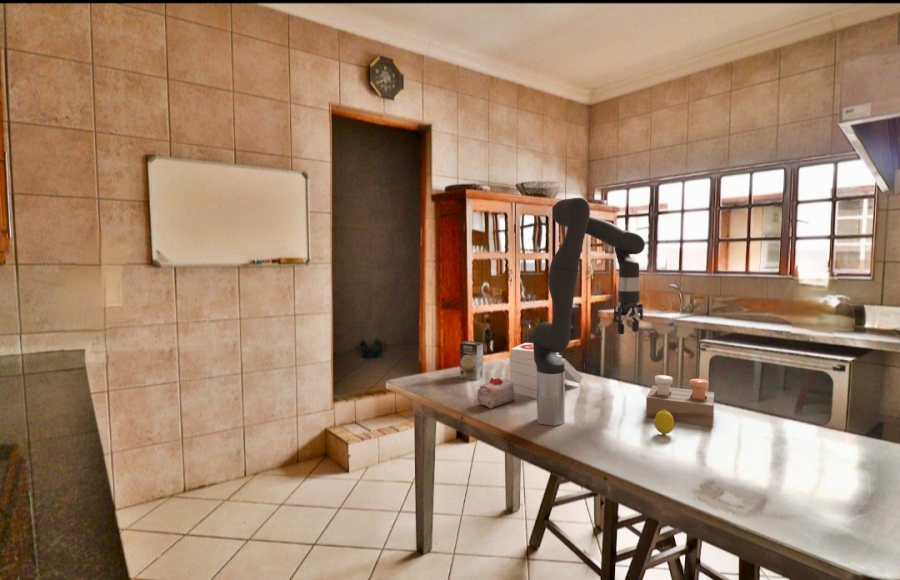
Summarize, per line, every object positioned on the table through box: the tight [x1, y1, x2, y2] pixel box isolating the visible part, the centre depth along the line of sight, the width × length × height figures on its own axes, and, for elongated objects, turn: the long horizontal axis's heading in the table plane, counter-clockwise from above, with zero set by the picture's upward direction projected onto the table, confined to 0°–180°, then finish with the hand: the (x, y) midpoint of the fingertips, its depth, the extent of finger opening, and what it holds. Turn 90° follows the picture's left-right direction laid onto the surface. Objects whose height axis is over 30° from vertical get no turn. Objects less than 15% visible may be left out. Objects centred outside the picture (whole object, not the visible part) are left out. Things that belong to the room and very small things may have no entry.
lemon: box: [654, 410, 675, 436], centre depth 154 cm, size 6×6×8 cm
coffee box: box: [459, 340, 484, 381], centre depth 225 cm, size 9×6×16 cm
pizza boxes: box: [508, 342, 583, 400], centre depth 206 cm, size 19×30×18 cm, turn 127°
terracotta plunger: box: [689, 378, 709, 400], centre depth 168 cm, size 6×6×8 cm
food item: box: [476, 377, 515, 409], centre depth 187 cm, size 14×8×10 cm, turn 130°
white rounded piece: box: [654, 374, 673, 396], centre depth 174 cm, size 6×6×8 cm
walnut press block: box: [645, 385, 715, 428], centre depth 171 cm, size 16×20×7 cm
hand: (628, 332), depth 186 cm, fingers open, 8 cm apart
